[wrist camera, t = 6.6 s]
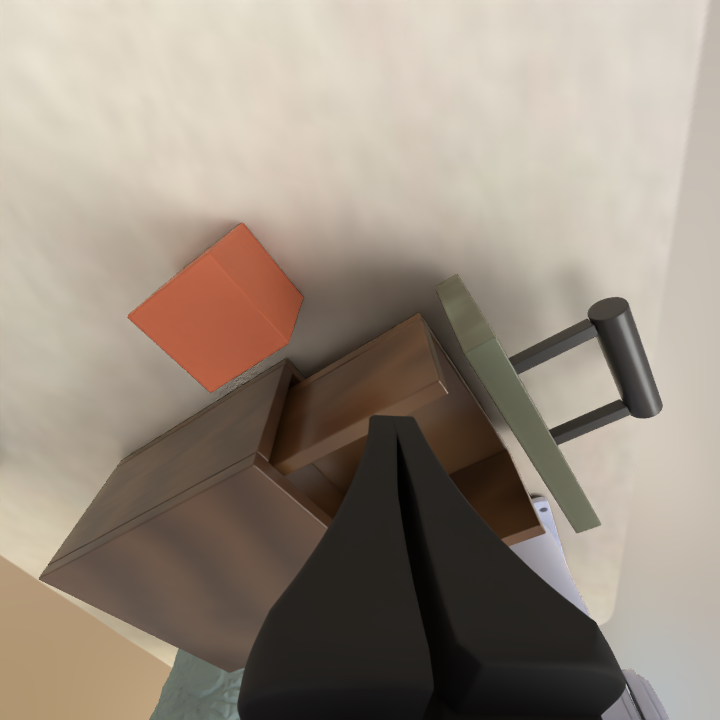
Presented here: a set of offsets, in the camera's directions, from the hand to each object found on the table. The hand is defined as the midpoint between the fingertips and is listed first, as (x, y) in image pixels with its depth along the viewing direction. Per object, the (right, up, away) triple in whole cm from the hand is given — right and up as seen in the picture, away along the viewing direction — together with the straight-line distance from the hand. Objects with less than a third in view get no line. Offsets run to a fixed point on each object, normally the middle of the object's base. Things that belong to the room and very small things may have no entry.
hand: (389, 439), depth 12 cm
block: (-7, +6, +7) cm, 12 cm away
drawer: (+4, 0, +10) cm, 11 cm away
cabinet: (-7, -5, +15) cm, 17 cm away
